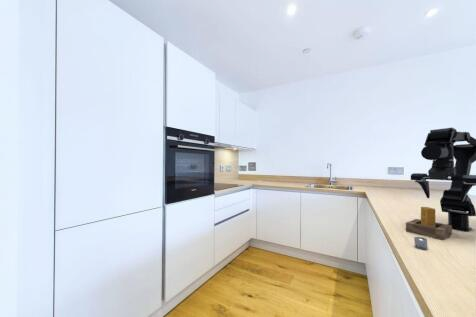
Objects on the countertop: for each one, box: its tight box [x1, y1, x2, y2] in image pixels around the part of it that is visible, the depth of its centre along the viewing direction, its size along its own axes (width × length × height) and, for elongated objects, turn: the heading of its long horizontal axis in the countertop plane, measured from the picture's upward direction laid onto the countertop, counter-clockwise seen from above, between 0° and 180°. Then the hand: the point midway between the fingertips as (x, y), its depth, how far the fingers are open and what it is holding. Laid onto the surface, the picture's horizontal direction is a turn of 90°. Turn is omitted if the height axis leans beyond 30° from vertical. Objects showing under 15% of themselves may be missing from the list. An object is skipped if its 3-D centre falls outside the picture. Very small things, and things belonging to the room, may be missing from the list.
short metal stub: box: [413, 236, 429, 251], centre depth 62 cm, size 3×3×3 cm
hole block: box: [405, 218, 453, 241], centre depth 76 cm, size 10×10×4 cm
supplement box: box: [420, 206, 437, 228], centre depth 75 cm, size 3×3×10 cm
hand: (444, 200), depth 75 cm, fingers open, 9 cm apart
